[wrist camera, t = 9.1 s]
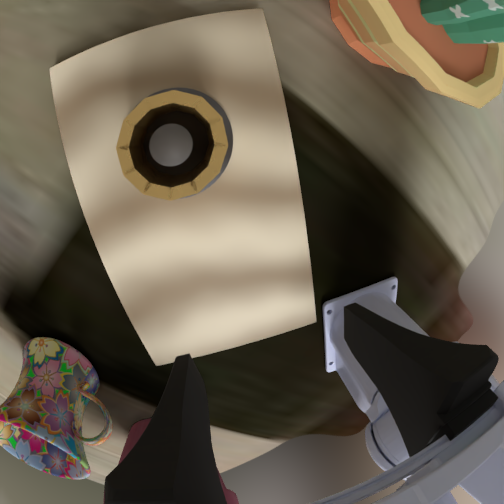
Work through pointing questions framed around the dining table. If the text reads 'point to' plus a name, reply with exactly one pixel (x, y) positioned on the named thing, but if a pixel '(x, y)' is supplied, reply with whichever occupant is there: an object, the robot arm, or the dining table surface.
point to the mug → (52, 409)
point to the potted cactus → (431, 42)
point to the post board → (197, 205)
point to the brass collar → (135, 156)
